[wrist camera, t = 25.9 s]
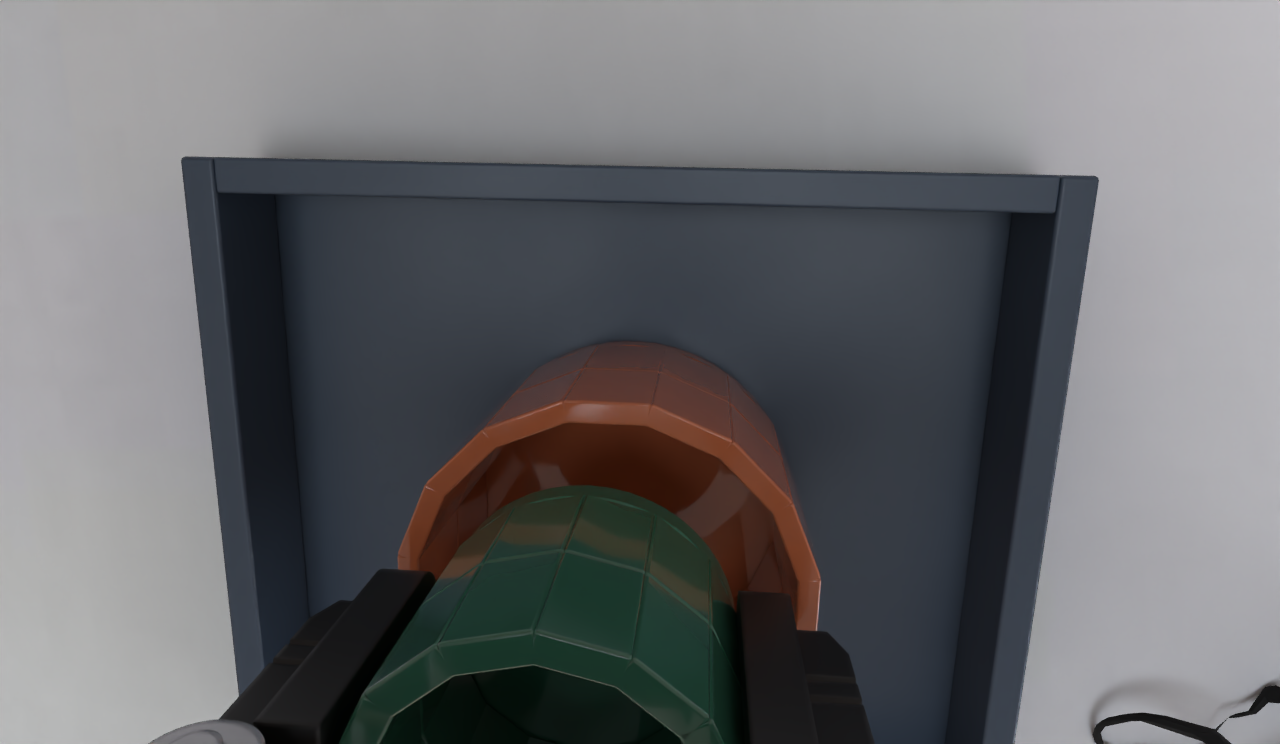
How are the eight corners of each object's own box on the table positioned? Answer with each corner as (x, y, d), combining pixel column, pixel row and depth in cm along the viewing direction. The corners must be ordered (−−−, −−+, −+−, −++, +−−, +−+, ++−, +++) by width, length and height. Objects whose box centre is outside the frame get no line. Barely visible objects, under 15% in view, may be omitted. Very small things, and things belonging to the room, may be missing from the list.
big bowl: (481, 625, 18) (407, 770, 14) (473, 334, 16) (387, 393, 12) (780, 645, 17) (803, 802, 13) (801, 346, 16) (835, 411, 12)
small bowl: (450, 739, 13) (341, 978, 9) (440, 472, 12) (313, 617, 8) (728, 759, 13) (737, 1016, 9) (743, 488, 12) (762, 645, 8)
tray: (306, 729, 20) (249, 808, 17) (257, 159, 16) (178, 156, 14) (959, 779, 18) (997, 870, 16) (1039, 175, 15) (1101, 175, 13)
